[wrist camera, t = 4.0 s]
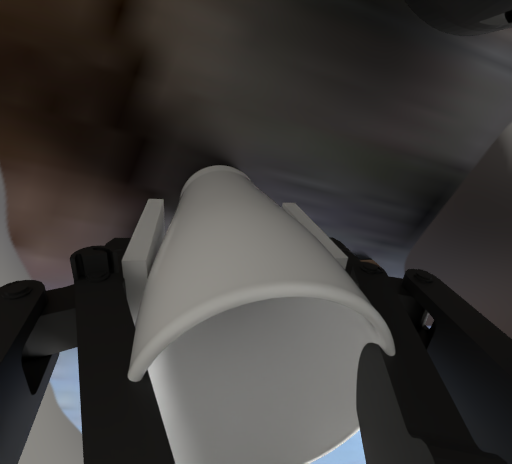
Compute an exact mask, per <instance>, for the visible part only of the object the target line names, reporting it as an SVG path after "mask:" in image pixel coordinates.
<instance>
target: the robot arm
mask: <svg viewBox="0 0 512 464" xmlns="http://www.w3.org/2000/svg"><path fill="white" fill-rule="evenodd" d="M405 1H406V3H407V4H408V6H409V7H410V8H411V9H412V10H413V11H414V13H416V14H417V15H418V16H419V17H420V18H421V19H422V20H423V21H425V22H426V23H427V24H429V25H430V26H432V27H434V28H436V29H438V30H440V31H442V32H445V33H449V34H453V35H459V36H473V35H480V34H486V33H490V32H494V31H499V30H503V29H507V28H511V27H512V0H405ZM282 208H283V209H284V210H286V211H287V212H288V213H289V214H290V215H292V216H293V217H294V218H295V219H296V220H298V221H299V222H300V223H301V224H302V225H304V226H305V227H306V228H307V229H308V230H309V231H310V232H311V233H312V234H313V235H314V236H315V237H316V238H317V239H318V240H319V241H320V242H321V243H322V244H323V245H324V246H325V247H326V248H327V249H328V251H329V252H330V253H331V254H332V255H333V256H334V257H335V258H336V259H337V261H338V262H339V263H340V264H341V265H342V267H343V268H344V269H345V270H346V271H347V273H348V274H349V275H350V276H351V278H352V279H353V280H354V281H355V283H356V284H357V285H358V287H359V288H360V289H361V291H362V292H363V293H364V295H365V296H366V297H367V299H368V300H369V301H370V303H371V304H372V305H373V306H374V308H375V309H376V310H377V311H378V312H379V314H380V315H381V316H382V318H383V319H384V320H385V322H386V324H387V326H388V327H389V329H390V332H391V334H392V337H393V340H394V345H395V355H394V356H389V355H387V354H386V353H385V352H384V351H383V350H382V348H381V347H380V346H379V344H376V343H373V342H372V343H367V344H366V345H365V346H364V347H363V349H362V351H361V354H360V358H359V363H358V370H357V384H356V410H357V416H358V421H359V427H360V432H361V437H362V443H363V448H364V454H365V459H366V464H512V339H511V338H510V337H508V336H507V335H506V334H505V333H503V332H502V331H501V330H500V329H499V328H497V327H496V326H495V325H494V324H493V323H491V322H490V321H489V320H488V319H487V318H485V317H484V316H483V315H482V314H481V313H479V312H478V311H477V310H476V309H475V308H473V307H472V306H471V305H470V304H469V303H467V302H466V301H465V300H464V299H462V298H461V297H460V296H459V295H458V294H456V293H455V292H454V291H453V290H452V289H450V288H449V287H448V286H447V285H446V284H444V283H443V282H442V281H441V280H440V279H438V278H437V277H436V276H434V275H432V274H430V273H428V272H427V271H423V270H420V269H418V270H417V269H408V270H407V271H406V272H405V275H404V277H403V279H401V278H395V277H389V276H388V275H387V273H386V272H385V270H384V269H383V268H381V267H379V266H378V265H375V264H373V263H369V262H361V261H360V260H359V259H358V258H357V257H356V256H355V255H354V254H353V253H352V252H350V250H349V249H348V248H346V246H344V245H343V244H342V243H341V242H340V241H338V240H336V239H334V238H329V237H328V236H327V235H326V234H325V233H324V232H323V231H322V230H321V229H320V228H319V227H318V226H317V225H316V224H315V223H314V222H313V221H312V220H311V219H310V218H309V217H308V216H307V215H306V214H305V213H304V212H303V211H302V210H301V209H300V208H299V207H298V206H297V205H296V204H295V203H283V206H282ZM164 236H165V225H164V199H148V202H147V204H146V206H145V208H144V211H143V213H142V215H141V218H140V220H139V222H138V224H137V227H136V229H135V231H134V234H133V236H132V238H114V239H112V240H111V241H109V242H108V243H106V245H105V246H91V247H86V248H83V249H80V250H78V251H76V252H74V253H73V254H72V255H71V257H70V262H71V267H72V273H73V278H74V284H73V285H70V286H67V287H63V288H58V289H53V290H48V291H46V290H45V286H44V284H43V283H42V282H39V281H36V280H23V281H15V282H13V283H9V284H6V285H4V286H2V287H0V464H18V461H19V459H20V456H21V454H22V451H23V448H24V446H25V443H26V441H27V438H28V435H29V432H30V430H31V427H32V425H33V422H34V420H35V417H36V414H37V412H38V409H39V406H40V404H41V401H42V399H43V396H44V393H45V390H46V388H47V385H48V383H49V380H50V377H51V375H52V372H53V370H54V367H55V364H56V362H57V359H58V356H59V352H61V351H65V350H68V349H72V348H75V347H78V364H79V382H80V401H81V420H82V438H83V457H84V464H175V461H174V457H173V454H172V450H171V447H170V444H169V440H168V437H167V433H166V430H165V427H164V423H163V420H162V417H161V413H160V410H159V406H158V403H157V400H156V396H155V393H154V389H153V386H152V383H151V379H150V376H149V373H148V369H147V371H146V372H145V374H144V376H143V378H142V379H141V380H140V381H137V382H133V381H131V380H129V379H128V371H129V366H130V361H131V354H132V348H133V342H134V336H135V330H136V329H135V323H136V319H137V314H138V310H139V306H140V302H141V298H142V295H143V291H144V288H145V285H146V282H147V279H148V276H149V273H150V270H151V267H152V265H153V262H154V259H155V257H156V255H157V252H158V250H159V247H160V245H161V243H162V241H163V238H164ZM429 314H430V315H431V316H432V317H433V319H434V322H433V324H432V326H431V328H430V329H429V328H428V327H427V326H426V325H425V322H426V320H427V317H428V315H429Z"/></svg>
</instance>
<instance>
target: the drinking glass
mask: <svg viewBox="0 0 512 464" xmlns="http://www.w3.org/2000/svg"><path fill="white" fill-rule="evenodd" d="M135 329H136V330H135V336H134V342H133V348H132V354H131V361H130V366H129V371H128V379H129V380H131V381H133V382H137V381H140V380H141V379H142V378H143V376H144V374H145V372H146V371H147V369H148V373H149V376H150V379H151V383H152V386H153V389H154V393H155V396H156V400H157V403H158V406H159V410H160V413H161V417H162V420H163V423H164V427H165V430H166V433H167V437H168V440H169V444H170V447H171V450H172V454H173V457H174V461H175V464H309V463H311V462H313V461H315V460H317V459H319V458H321V457H323V456H324V455H326V454H328V453H330V452H331V451H333V450H334V449H336V448H337V447H339V446H340V445H342V444H343V443H344V442H346V441H347V440H348V439H350V438H351V437H352V436H353V435H354V434H356V433H357V432H358V431H359V430H360V427H359V421H358V416H357V410H356V384H357V370H358V363H359V358H360V354H361V351H362V349H363V347H364V346H365V345H366V344H367V343H372V342H373V343H376V344H379V346H380V347H381V348H382V350H383V351H384V352H385V353H386V354H387V355H389V356H394V355H395V345H394V340H393V337H392V334H391V332H390V329H389V327H388V326H387V324H386V322H385V320H384V319H383V318H382V316H381V315H380V314H379V312H378V311H377V310H376V309H375V308H374V306H373V305H372V304H371V303H370V301H369V300H368V299H367V297H366V296H365V295H364V293H363V292H362V291H361V289H360V288H359V287H358V285H357V284H356V283H355V281H354V280H353V279H352V278H351V276H350V275H349V274H348V273H347V271H346V270H345V269H344V268H343V267H342V265H341V264H340V263H339V262H338V261H337V259H336V258H335V257H334V256H333V255H332V254H331V253H330V252H329V251H328V249H327V248H326V247H325V246H324V245H323V244H322V243H321V242H320V241H319V240H318V239H317V238H316V237H315V236H314V235H313V234H312V233H311V232H310V231H309V230H308V229H307V228H306V227H305V226H304V225H302V224H301V223H300V222H299V221H298V220H296V219H295V218H294V217H293V216H292V215H290V214H289V213H288V212H287V211H286V210H284V209H283V208H282V207H281V206H279V205H278V204H277V203H276V202H275V201H273V200H272V199H271V198H270V197H269V196H267V195H266V194H265V193H264V192H263V191H261V190H260V189H259V188H258V187H257V186H256V185H254V183H253V182H252V181H251V180H250V178H249V177H248V176H247V175H245V174H244V173H243V172H241V171H240V170H238V169H236V168H233V167H230V166H225V165H214V166H209V167H206V168H203V169H201V170H199V171H197V172H196V173H195V174H193V175H192V176H191V177H190V178H189V179H188V180H187V182H186V183H185V185H184V187H183V189H182V191H181V194H180V199H179V203H178V206H177V208H176V211H175V213H174V215H173V218H172V220H171V222H170V225H169V227H168V229H167V231H166V234H165V236H164V238H163V241H162V243H161V245H160V247H159V250H158V252H157V255H156V257H155V259H154V262H153V265H152V267H151V270H150V273H149V276H148V279H147V282H146V285H145V288H144V291H143V295H142V298H141V302H140V306H139V310H138V314H137V319H136V323H135Z"/></svg>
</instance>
